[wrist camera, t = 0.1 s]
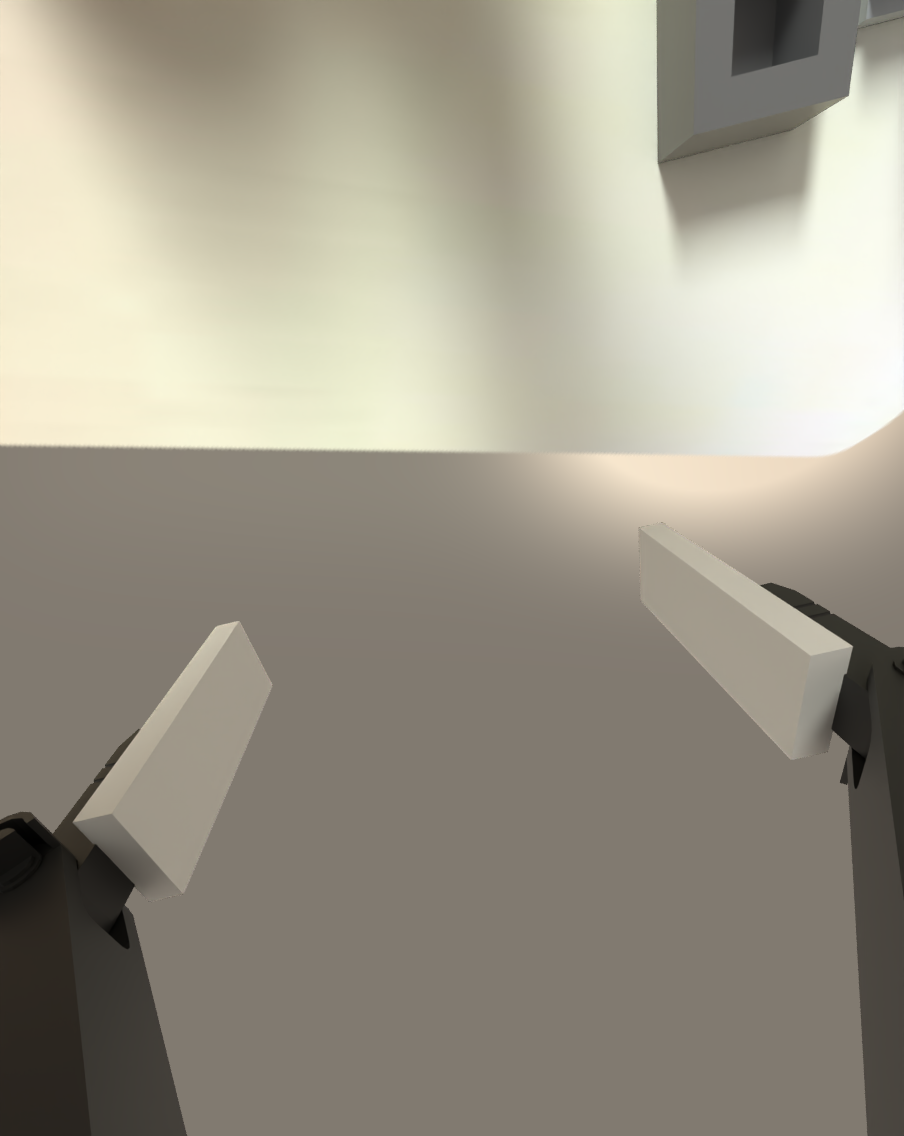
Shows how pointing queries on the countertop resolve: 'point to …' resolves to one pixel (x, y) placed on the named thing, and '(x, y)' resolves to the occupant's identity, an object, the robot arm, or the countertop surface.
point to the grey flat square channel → (879, 11)
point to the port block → (748, 68)
